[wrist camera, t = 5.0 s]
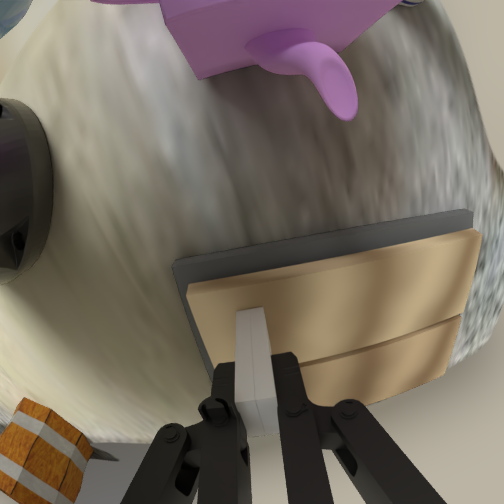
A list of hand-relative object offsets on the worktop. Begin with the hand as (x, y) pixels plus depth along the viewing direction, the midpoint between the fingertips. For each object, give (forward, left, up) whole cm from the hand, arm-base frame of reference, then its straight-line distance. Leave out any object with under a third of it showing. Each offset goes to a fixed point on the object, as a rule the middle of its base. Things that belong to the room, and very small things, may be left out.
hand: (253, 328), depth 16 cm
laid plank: (+7, -8, -2) cm, 11 cm away
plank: (+7, 0, -1) cm, 7 cm away
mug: (-35, -18, -3) cm, 40 cm away
